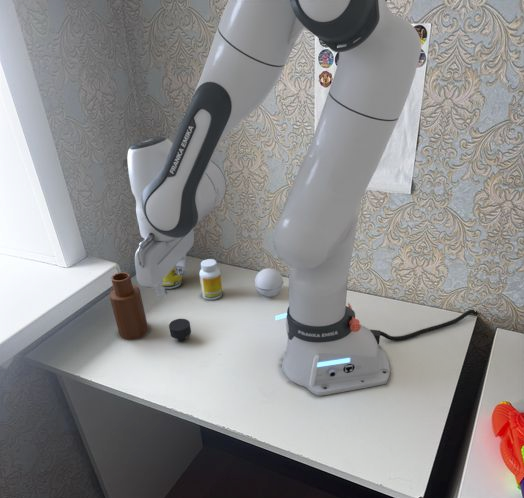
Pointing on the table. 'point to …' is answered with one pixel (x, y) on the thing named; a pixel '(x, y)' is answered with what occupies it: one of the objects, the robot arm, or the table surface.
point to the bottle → (128, 307)
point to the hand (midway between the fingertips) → (171, 284)
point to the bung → (180, 329)
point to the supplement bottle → (210, 280)
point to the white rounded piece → (269, 282)
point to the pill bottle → (172, 280)
